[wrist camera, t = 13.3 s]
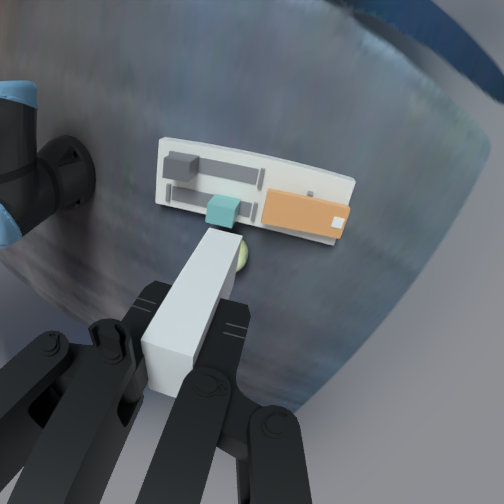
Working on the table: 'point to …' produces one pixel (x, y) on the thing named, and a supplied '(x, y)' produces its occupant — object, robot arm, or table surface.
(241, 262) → the tennis ball
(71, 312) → the table surface
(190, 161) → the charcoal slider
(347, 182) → the panel
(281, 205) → the tan block
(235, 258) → the robot arm
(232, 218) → the teal slider
